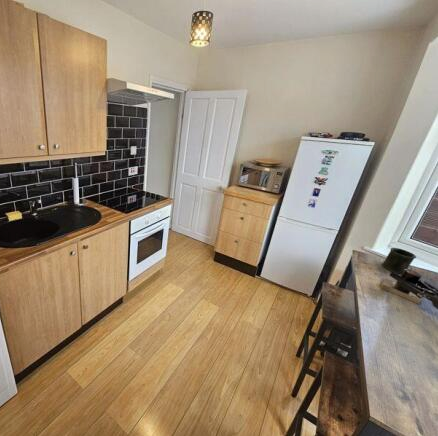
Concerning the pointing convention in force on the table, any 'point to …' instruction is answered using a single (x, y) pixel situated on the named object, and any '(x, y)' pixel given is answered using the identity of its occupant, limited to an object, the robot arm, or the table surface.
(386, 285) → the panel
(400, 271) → the mug
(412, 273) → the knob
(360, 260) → the table surface
